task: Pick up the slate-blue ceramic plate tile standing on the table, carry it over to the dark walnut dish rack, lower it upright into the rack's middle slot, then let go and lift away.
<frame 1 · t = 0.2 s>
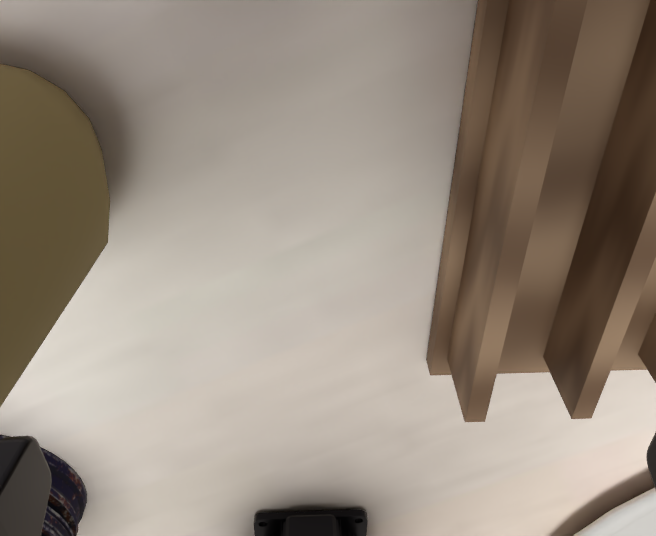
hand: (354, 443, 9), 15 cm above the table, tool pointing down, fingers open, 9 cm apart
squeeze bottle: (19, 142, 21), on the table
dish rack: (645, 185, 23), on the table
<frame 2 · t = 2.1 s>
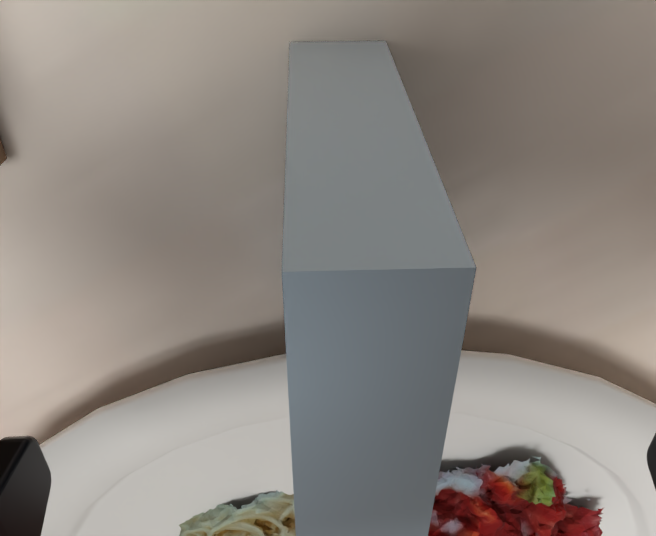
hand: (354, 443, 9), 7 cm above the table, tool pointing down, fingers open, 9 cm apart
plate tile: (336, 189, 15), on the table
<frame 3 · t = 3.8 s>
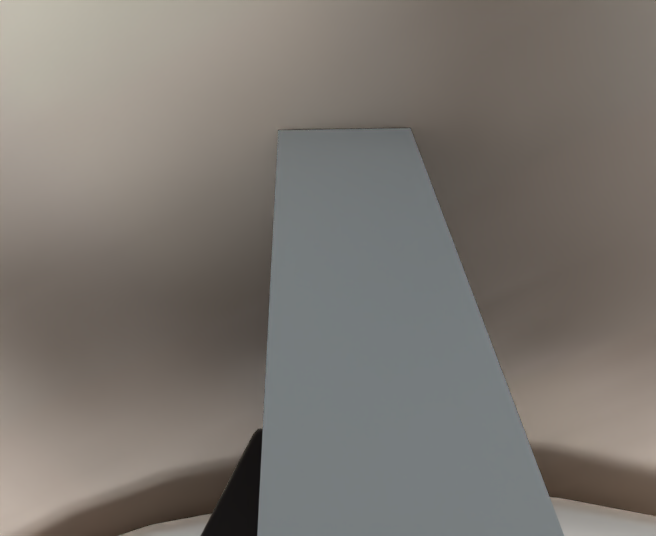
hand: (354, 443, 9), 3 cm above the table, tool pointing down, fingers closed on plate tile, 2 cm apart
plate tile: (341, 307, 11), on the table, touching gripper
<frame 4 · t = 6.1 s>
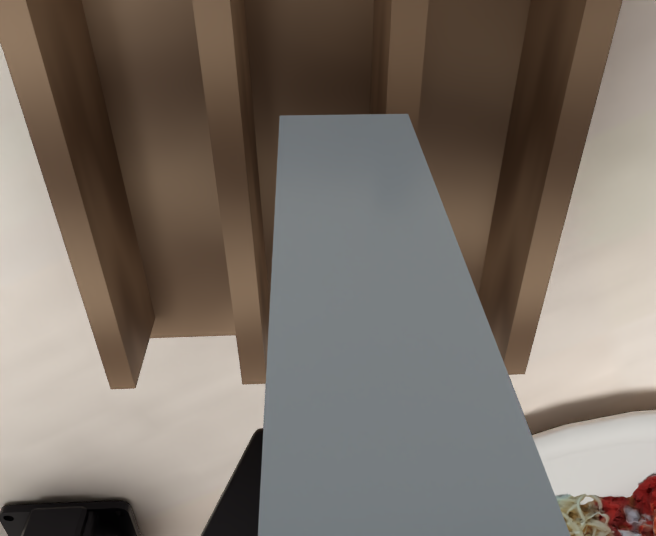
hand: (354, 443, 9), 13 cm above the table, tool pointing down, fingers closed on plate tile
plate tile: (340, 291, 12), point 10 cm above the table, touching gripper
dish rack: (311, 96, 19), on the table
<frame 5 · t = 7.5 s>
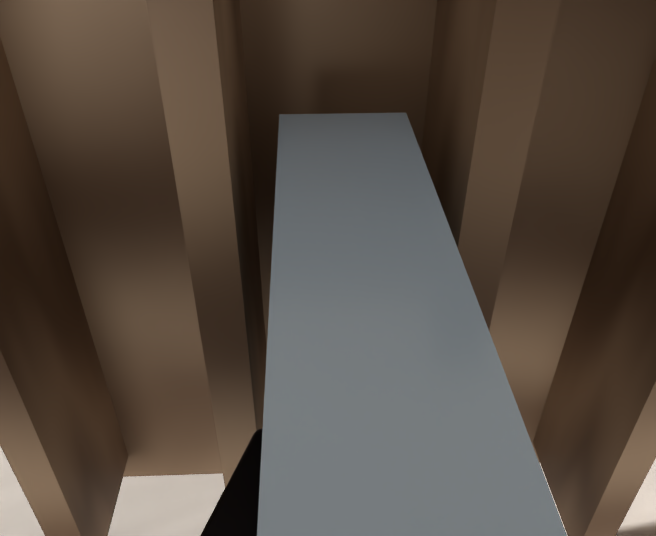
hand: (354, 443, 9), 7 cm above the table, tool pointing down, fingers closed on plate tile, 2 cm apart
plate tile: (339, 288, 12), point 3 cm above the table, touching gripper
dish rack: (333, 199, 14), on the table
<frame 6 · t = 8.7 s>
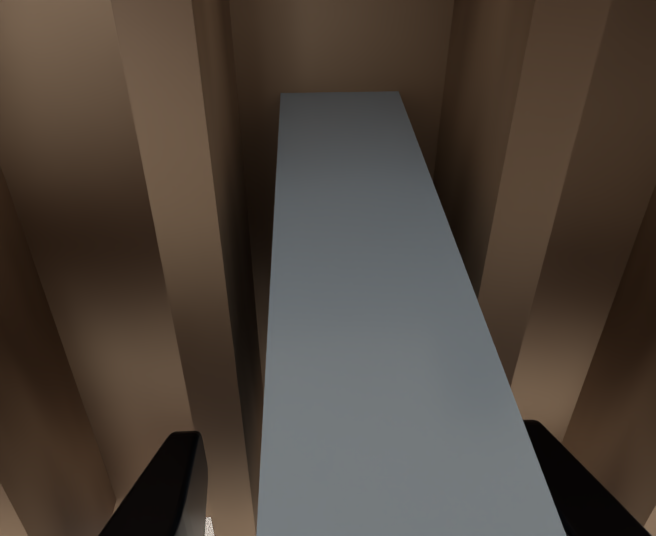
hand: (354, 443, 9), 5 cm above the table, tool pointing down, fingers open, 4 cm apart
plate tile: (337, 260, 12), point 1 cm above the table, touching dish rack
dish rack: (335, 233, 13), on the table
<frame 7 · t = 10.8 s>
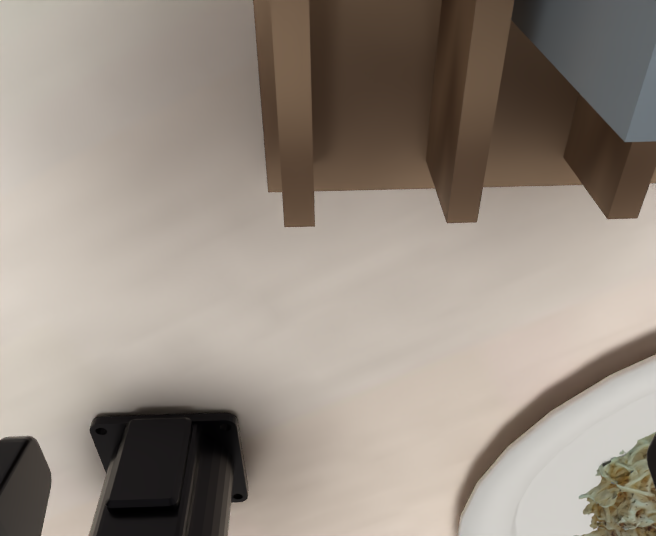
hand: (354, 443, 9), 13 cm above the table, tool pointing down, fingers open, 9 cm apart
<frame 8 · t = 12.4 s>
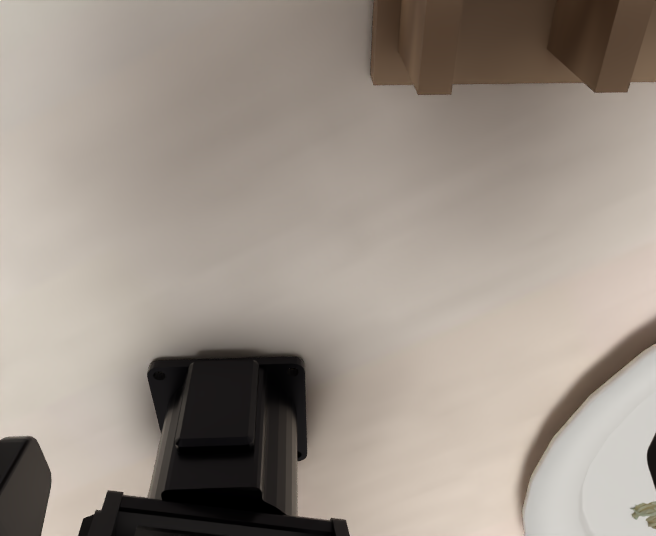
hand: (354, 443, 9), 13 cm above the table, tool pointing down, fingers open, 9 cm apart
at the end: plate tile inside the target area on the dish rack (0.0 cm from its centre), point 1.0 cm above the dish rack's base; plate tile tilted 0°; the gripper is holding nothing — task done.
